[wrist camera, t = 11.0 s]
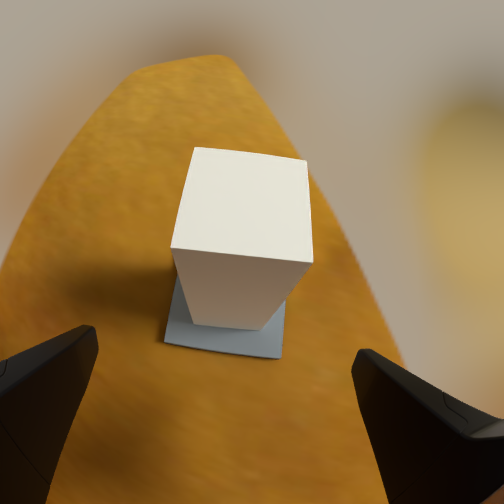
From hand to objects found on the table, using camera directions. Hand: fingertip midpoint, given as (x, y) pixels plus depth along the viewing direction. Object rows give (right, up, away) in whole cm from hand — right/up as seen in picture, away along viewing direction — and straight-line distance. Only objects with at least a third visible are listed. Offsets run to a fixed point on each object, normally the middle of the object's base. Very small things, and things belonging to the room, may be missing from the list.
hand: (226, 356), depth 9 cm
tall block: (-1, +1, +9) cm, 9 cm away
